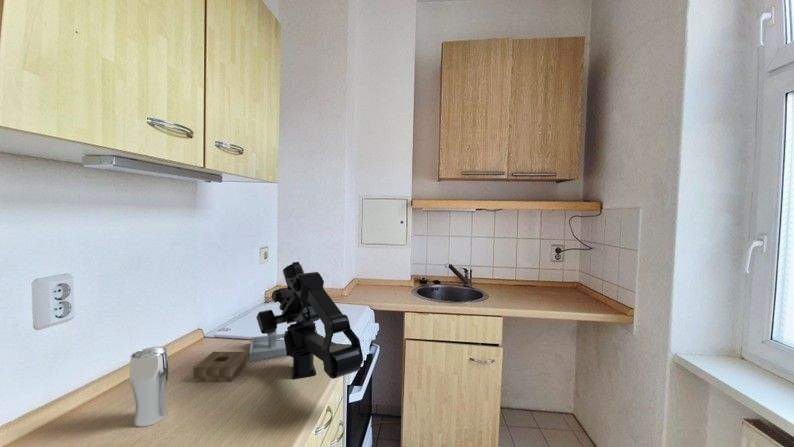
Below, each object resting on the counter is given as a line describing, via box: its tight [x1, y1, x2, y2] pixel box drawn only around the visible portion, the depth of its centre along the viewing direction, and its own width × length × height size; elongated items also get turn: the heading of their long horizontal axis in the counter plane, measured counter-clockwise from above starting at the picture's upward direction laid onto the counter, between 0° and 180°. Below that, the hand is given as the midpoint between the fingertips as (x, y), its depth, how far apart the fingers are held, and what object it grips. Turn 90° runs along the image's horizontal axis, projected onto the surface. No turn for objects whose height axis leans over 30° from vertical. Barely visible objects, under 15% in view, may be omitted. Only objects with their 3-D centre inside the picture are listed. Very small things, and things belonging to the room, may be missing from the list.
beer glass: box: [129, 346, 170, 428], centre depth 74 cm, size 7×7×15 cm
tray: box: [248, 332, 288, 362], centre depth 112 cm, size 14×14×2 cm
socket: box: [193, 351, 248, 383], centre depth 96 cm, size 10×10×4 cm
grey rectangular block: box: [267, 313, 278, 348], centre depth 112 cm, size 4×2×11 cm, turn 43°
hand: (282, 330), depth 106 cm, fingers open, 9 cm apart
